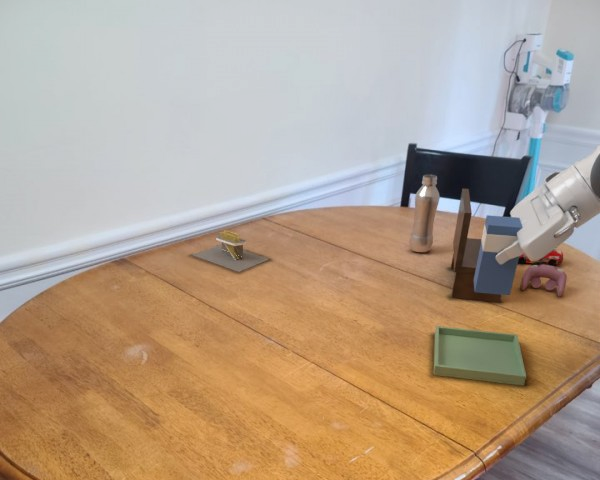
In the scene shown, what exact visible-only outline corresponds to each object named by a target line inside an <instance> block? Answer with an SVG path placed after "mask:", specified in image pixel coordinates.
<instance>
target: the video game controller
mask: <svg viewBox="0 0 600 480" xmlns="http://www.w3.org/2000/svg"><path fill="white" fill-rule="evenodd" d="M541 278H545V279H548V280H547V281H546V282H545V284H544V288H545V289H546V290H547V291H553V290H554V289H555V288H556V287H557V289H556V290H557V292H556V293H557V297H562V295H563V293H564V292H565V289H566V285H567V278H568V277H567V273H566V272H565V271H564V270H563V269H561V268H560V267H557V266H555V265H553V266H550V265H549V264H533V265H530V266H528V267H527V268H526V269H525V271H524V273H523V275H522V278H521V283H520V290H521V291H525V290H526V289H527V288H528V285H529V282H530V284H531V287H532V288H534V289H537V288H540V287H541V286H542V280H541Z"/></svg>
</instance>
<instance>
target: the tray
mask: <svg viewBox="0 0 600 480" xmlns="http://www.w3.org/2000/svg"><path fill="white" fill-rule="evenodd" d="M433 346H434V349H433V376H440V377H447V378H457V379H465V380H473V381H481V382H482V381H483V382H489V383H498V384H508V385H515V386H525V383H526V379H527V374H526V368H525V364H524V358H523V354H522V349H521V345H520V341H519V337H518V334H516V333H515V334H514V333H507V332H496V331H488V330H477V329H469V328H459V327H451V326H441V325H435V331H434V345H433Z"/></svg>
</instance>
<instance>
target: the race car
mask: <svg viewBox="0 0 600 480" xmlns="http://www.w3.org/2000/svg"><path fill="white" fill-rule="evenodd" d="M563 263H564V253H563V251H561V250H559V249H556V248H555V249H554V250H553V251H551V252H550V253H548V254H547V255H546V256H544V257H543V258H541V259H540V260H537V261H534V262H531V261H530V260H529V258H528V257H527V256H526V254H525V253H524V254H522V255H521V256H519V260H518V264H520V265H523V264H535V265H550V266H555V265H562V264H563Z"/></svg>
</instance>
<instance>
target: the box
mask: <svg viewBox="0 0 600 480" xmlns="http://www.w3.org/2000/svg"><path fill="white" fill-rule="evenodd" d="M522 228H523V227H522V224H521V221H520V218H516V217H511V216H500V215H486V217H485V222H484V225H483V230H482V236H481V238H480V239H481V246H480V251H479V256H478V261H477V266H476V271H475V276H474V290H475V292H478V293H488V294H498V295H501V296H510V295H511V291H512V289H513V284H514V280H515V276H516V271H517V267H518V264H519V262H518V260H519V256H518V257H515V258H512V259H509V260H508V261H507V262H505V263H504V264H499V263H498V262H497V260H496V258H495V254H496V253H497V252H499V251H500V250H502V249H506V248H508V247H509V246H511V245H513V243H514V242H515V241H516V240H518V237H517V232H518V231H519V230H520V229H522Z"/></svg>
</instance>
